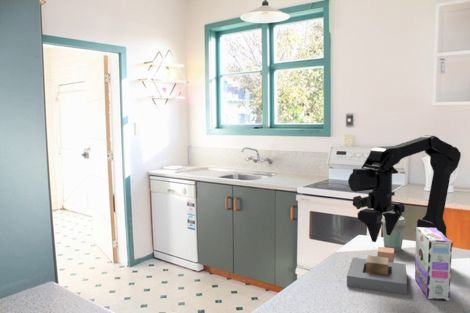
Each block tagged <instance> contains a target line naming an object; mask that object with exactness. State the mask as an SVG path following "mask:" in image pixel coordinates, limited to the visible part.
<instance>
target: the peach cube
mask: <svg viewBox="0 0 470 313" xmlns="http://www.w3.org/2000/svg"><path fill="white" fill-rule="evenodd" d="M377 257H385V258H389V260H388V262H394V263H395V251H394V248H385V247H384V246H378V247H377Z"/></svg>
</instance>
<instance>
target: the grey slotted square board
mask: <svg viewBox="0 0 470 313" xmlns="http://www.w3.org/2000/svg"><path fill="white" fill-rule="evenodd" d="M366 262H367V258H360V257H352V258H351V262H350V264H349V268H348V271H347V273H346V274H347V275H346V286H347V287H353V288H359V289H366V290H367V289H368V290H372V291H373V290H374V291H379V292H386V293H393V294H394V293H395V294H400V295H401V294H402V295H407V288H408V286H407V284H408V283H407V280H408V279H407V264H406V263H400V262H395V261H394V262H388V276H384V275H376V274H369V273H366Z"/></svg>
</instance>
